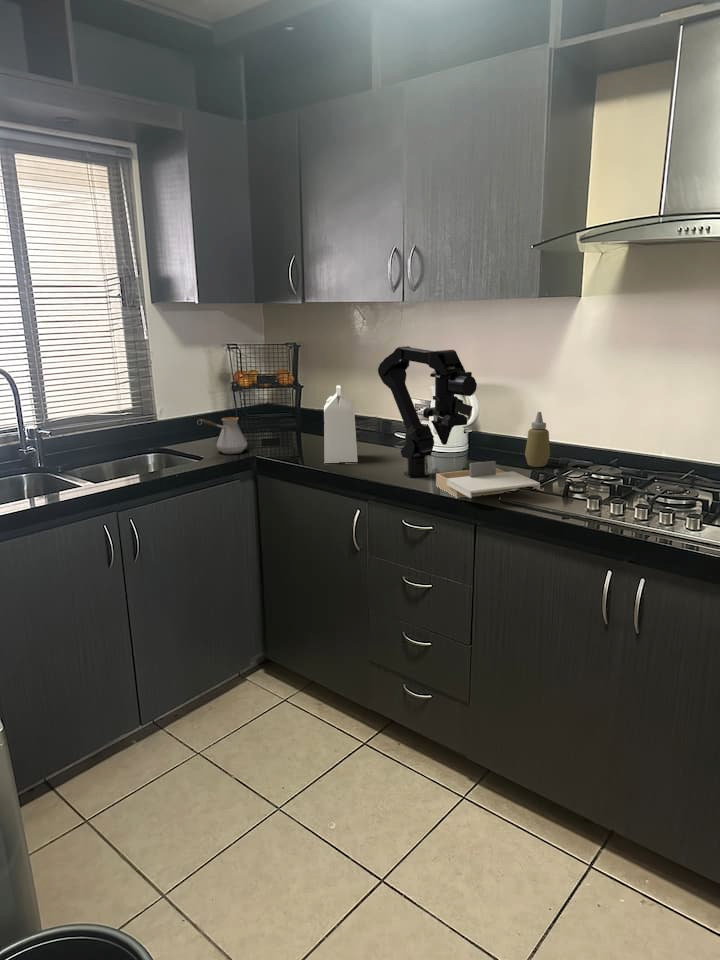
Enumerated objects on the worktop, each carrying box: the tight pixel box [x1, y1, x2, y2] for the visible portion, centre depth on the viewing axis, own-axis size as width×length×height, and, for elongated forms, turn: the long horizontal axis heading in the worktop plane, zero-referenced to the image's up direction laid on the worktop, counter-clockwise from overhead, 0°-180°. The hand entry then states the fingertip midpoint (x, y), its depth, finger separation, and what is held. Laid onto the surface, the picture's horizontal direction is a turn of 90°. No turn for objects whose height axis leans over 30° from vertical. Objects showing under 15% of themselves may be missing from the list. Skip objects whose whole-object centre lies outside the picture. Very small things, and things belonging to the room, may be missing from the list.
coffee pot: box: [197, 416, 248, 455], centre depth 255 cm, size 21×12×15 cm, turn 146°
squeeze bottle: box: [524, 411, 551, 468], centre depth 228 cm, size 8×8×18 cm
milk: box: [323, 385, 359, 464], centre depth 241 cm, size 12×12×26 cm
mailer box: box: [435, 467, 516, 499], centre depth 203 cm, size 14×20×4 cm
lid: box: [447, 460, 541, 499], centre depth 194 cm, size 14×22×6 cm
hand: (444, 444), depth 208 cm, fingers closed
